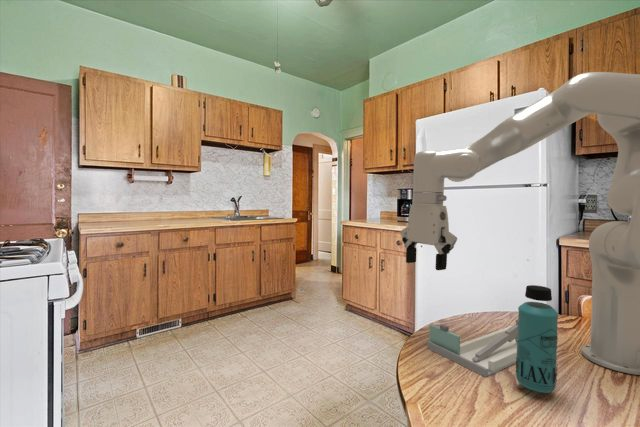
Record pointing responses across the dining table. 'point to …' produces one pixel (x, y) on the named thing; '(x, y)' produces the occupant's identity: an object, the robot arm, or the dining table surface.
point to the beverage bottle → (537, 342)
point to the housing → (468, 349)
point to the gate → (444, 338)
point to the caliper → (498, 343)
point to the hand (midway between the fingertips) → (425, 265)
